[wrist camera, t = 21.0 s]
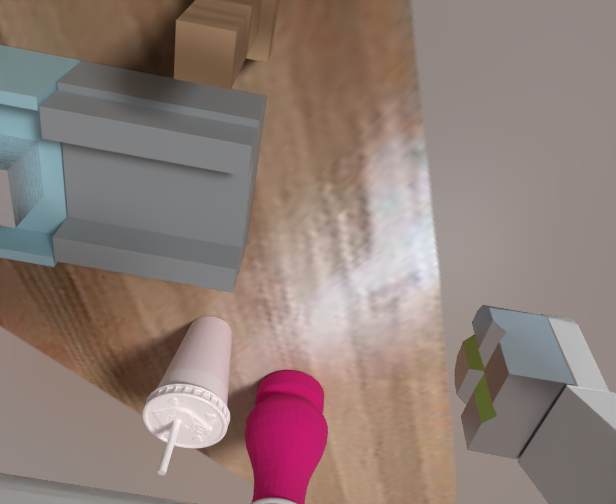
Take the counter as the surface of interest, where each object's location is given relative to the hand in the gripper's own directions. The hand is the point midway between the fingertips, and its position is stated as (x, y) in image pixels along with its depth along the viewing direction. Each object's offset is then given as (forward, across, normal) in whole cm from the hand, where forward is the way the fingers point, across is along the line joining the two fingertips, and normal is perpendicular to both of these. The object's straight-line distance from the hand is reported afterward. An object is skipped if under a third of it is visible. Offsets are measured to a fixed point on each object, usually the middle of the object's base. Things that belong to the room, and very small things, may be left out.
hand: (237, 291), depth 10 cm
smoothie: (+29, +4, +30) cm, 42 cm away
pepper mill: (+29, -4, +36) cm, 47 cm away
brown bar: (+29, +4, +2) cm, 30 cm away
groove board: (+29, +8, +14) cm, 33 cm away
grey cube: (+25, +18, +14) cm, 34 cm away
